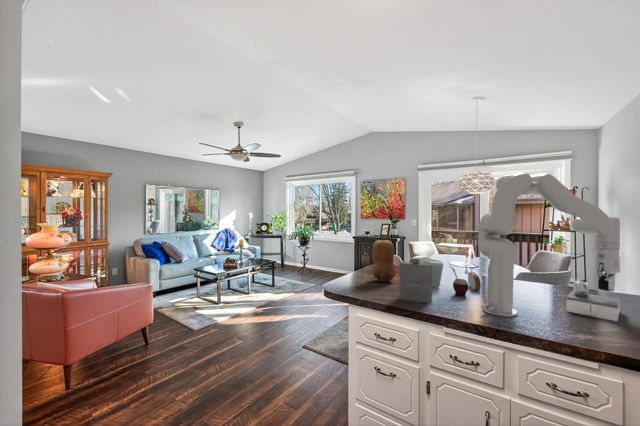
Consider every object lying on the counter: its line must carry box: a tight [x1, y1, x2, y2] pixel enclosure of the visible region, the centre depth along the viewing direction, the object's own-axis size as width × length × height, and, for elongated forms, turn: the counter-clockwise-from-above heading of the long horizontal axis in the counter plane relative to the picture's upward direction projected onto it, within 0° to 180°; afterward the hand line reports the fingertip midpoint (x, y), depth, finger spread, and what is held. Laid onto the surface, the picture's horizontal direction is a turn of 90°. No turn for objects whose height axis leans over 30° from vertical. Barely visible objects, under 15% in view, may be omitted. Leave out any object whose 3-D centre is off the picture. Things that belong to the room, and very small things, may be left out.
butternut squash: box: [372, 239, 397, 283], centre depth 180 cm, size 14×13×25 cm
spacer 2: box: [598, 274, 616, 292], centre depth 128 cm, size 5×5×6 cm
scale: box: [565, 290, 621, 322], centre depth 130 cm, size 17×16×6 cm
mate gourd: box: [448, 265, 469, 298], centre depth 153 cm, size 8×8×15 cm
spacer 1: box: [572, 280, 589, 298], centre depth 134 cm, size 5×5×6 cm
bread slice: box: [467, 271, 482, 292], centre depth 167 cm, size 15×3×8 cm, turn 168°
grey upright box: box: [398, 257, 433, 303], centre depth 145 cm, size 15×6×20 cm, turn 70°
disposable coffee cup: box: [423, 258, 444, 289], centre depth 169 cm, size 11×11×15 cm
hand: (606, 288), depth 128 cm, fingers closed on spacer 2, 5 cm apart
